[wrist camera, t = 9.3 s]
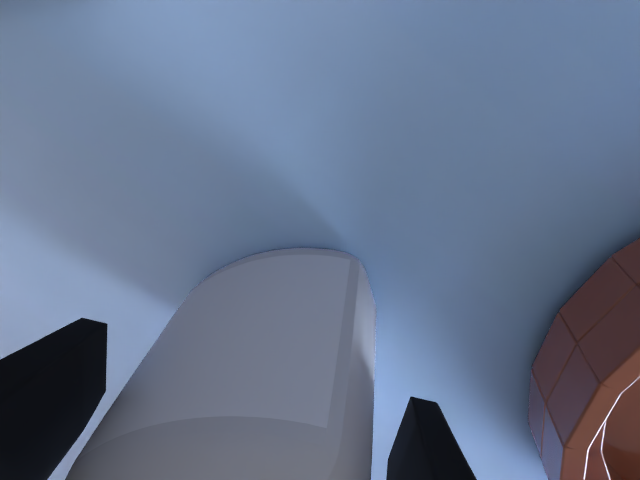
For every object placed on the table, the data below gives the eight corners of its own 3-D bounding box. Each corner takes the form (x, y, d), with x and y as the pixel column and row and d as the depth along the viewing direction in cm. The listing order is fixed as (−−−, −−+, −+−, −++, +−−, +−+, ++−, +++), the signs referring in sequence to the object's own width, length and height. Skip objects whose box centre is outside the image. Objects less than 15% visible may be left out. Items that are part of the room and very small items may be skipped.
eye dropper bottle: (202, 211, 15) (-316, 784, 4) (391, 258, 15) (411, 980, 4) (186, 332, 17) (-192, 950, 6) (354, 375, 16) (296, 1084, 6)
